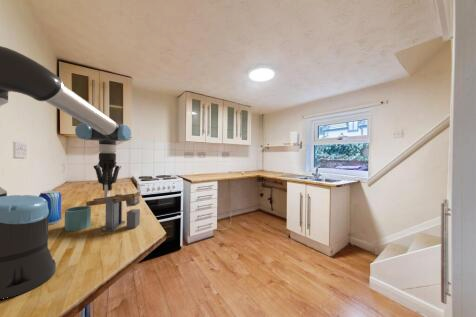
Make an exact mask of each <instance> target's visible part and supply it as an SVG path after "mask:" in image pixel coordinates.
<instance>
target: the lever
mask: <svg viewBox="0 0 476 317" xmlns="http://www.w3.org/2000/svg"><path fill="white" fill-rule="evenodd" d="M106 198H114V203H115V202H122V203H123V202H125V203H126V208H128V207H134V206H137V205H139V204H140V198H141V193H140V191H137V192H134V193H126V194H122V195H119V196H115V195H110V196H109V197H104V196H103V197H98V198H93V200H88V201H85V206H90V207H92V206H98V205H106Z"/></svg>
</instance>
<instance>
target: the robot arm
mask: <svg viewBox="0 0 476 317" xmlns="http://www.w3.org/2000/svg"><path fill="white" fill-rule="evenodd" d="M63 83H64V82H63V80H62V78H61V77H60V76H57V75H56V74H55V73H54V72H52V71H51V70H50V69H49V68H47V67H45V66H44V65H42V64H41V63H39V62H37V61H36V60H33V59H32V58H30V57H28V56H26V55H24V54H23V53H20V52H18V51H15V50H14V49H11V48H9V47H5V46H1V45H0V107H2V106H4V105H6V104H8V103H9V92H13V93H18V94H22V95H25V96H28V97H29V98H32V99H34V100H35V101H38V102H46V103H47V104H49V105H51V106H53V107H55V108H56V109H59V110H60V111H62V112H63V113H66V114H67V115H69V116H70V117H72V118H74V119H76V120H78V121H79V122H81V123H79V124H77V125H76V127H75V129H74V131H75V132H74V133H75V135H76V137H77V138H78V139H80V140H85V141H97V142H98V152H99V153H98V164H97V163H96V165H93V166H92V167H93V169H94V171H95V174H96V178H97V181H98V184H101V185H102V191H103V192H104V196H103V198H104V197H109V196H111V191H112V189H113V184H116V183H117V181H118V180H117V179H118V177H119V176H118V175H119V171H120V169H121V168H122V166H121V165H118V163H117V162H116V160H117V154H116V152H117V141H118V142H125V141H128V140H130V138H131V136H132V131H131V128H130V126H128V125H126V124H122V123H121V124H119V123H117V122H116V121H114V120H113V119H112V118H110V117H109V116H108V115H106V114H105V113H103V112H102V111H101V110H99V109H98V108H96V107H95V106H94V105H92V104H91V103H89V101H88V100H85V99H84V98H83V97H81V96H80V95H78V94H77V93H76V92H74V91H73V90H71V89H70V88H69V87H67V86H66V85H65V84H63ZM48 214H49V209H48V203H47V201H46V200H45V199H44V198H42V197H39V195H32V194H30V195H29V194H23V195H20V194H14V195H13V194H12V195H8V191H7V190H6V189H4V188H2V187H0V299H3V298H7V297H11V298H13V297H12V296H14V297H16V295H17V296H19V295H22V294H24V293H27V292H29V291H31V290H33V289H35V288H37V287H39V286H40V285H42V284H45V283H46V282H47V281H49V280H50V279H51V278H52V277H53V276H54V275H55V273H56V270H57V267H56V266H57V265H56V261H55V260H54V259H53V257H52V254H51V251H50V249H49V245H48V244H49V243H48V242H49V241H48V239H49V225H48ZM7 299H8V298H7Z"/></svg>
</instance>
